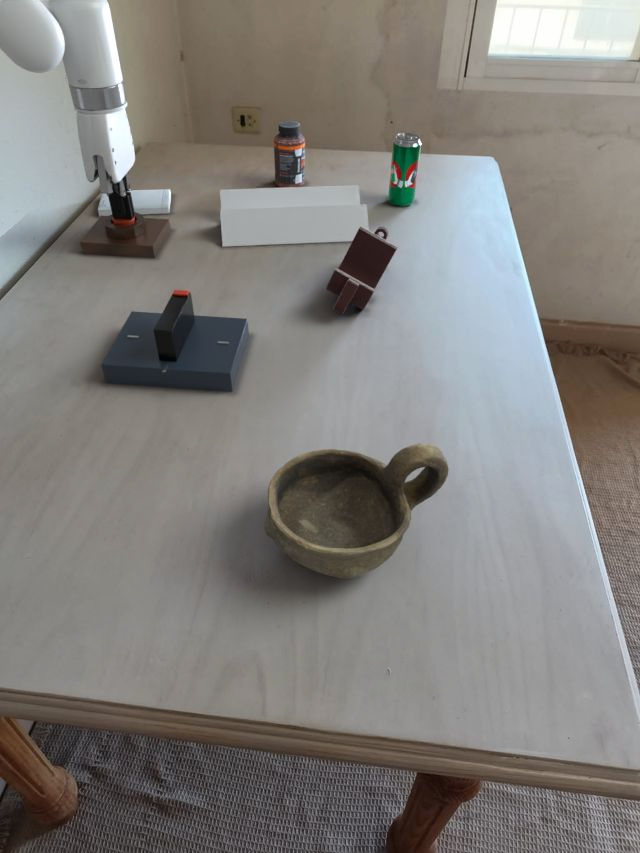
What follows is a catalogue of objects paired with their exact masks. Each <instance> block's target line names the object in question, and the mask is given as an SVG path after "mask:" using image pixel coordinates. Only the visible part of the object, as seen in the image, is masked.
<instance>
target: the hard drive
mask: <svg viewBox="0 0 640 853" xmlns="http://www.w3.org/2000/svg"><path fill="white" fill-rule="evenodd" d="M127 192H131V196H132V201H133V207H134V212H136V213H139V214H142V215H162V214H163V215H165V214H170V212H171V211H170V210H171V200H172V194H171V193H172V192H171V189H170V188H169V189H167V188H166V189H164V188H163V189H135V190H130V191H127ZM97 213H98V217H99V218H100V216H101V215H102V216H109V215H112V211H111V206H110V202H109V197H108V196H107V194H102V193H101V196H100V199H99V203H98V207H97Z"/></svg>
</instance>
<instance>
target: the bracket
mask: <svg viewBox="0 0 640 853" xmlns="http://www.w3.org/2000/svg"><path fill="white" fill-rule="evenodd" d="M379 233H382V234H383V236H381V235H380V234H379ZM388 236H389V230H388V229H387V227H384V226H379V227H377V228H376V230H375V231H374V232H372V231H371V230H370V229H369V230H367V229H366V228H364V227H362V226H360V228H359V229H358V231H357V233H356V235H355V237H354V239H353V241H351V243H350V245H349V247H348V248H347V251H346V253H345V254H344V257H343V259H342V261H341V263H340V264H339V266H338V268H337V267H335V268H334V271H333V272H332V274H331V276H330V278H329V281H328V283H327V285H326V287H325V290H326V291H328V292H330V293H332V294H333V295H335V296H337V297H338V298H337V300H336V302H335V304H334V305H333V307H332V310H333V311H334V312H336V313H338V314H340V315H341V316H343V315H344V313H345V311H346V310H347V308H348V306H349V305H350V304H351V305H353V306H355V307H357V308H358V309H360V310H362V311H364V310H365V309H366V307H367V305H368V303H369V301H370V300H371V298H372V296H373V295H374V292H375V290H376V287H377V286H378V284H379V282H380V280H381V278H382V277H383V275H384V273H385V271H386V270H387V268H388V266H389V264H390V262H391V260H392V259H393V257H394V255H395V253H396V251H397V250H398V248H399V246H397V245H396V244H394V243H393V242H390V241H388V240H387V238H388Z"/></svg>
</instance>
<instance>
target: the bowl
mask: <svg viewBox="0 0 640 853" xmlns="http://www.w3.org/2000/svg"><path fill="white" fill-rule="evenodd" d="M421 468H423V469H422V470H421V471H420V472H419V473H418V474H417V475H416V476H415V477H414V478H413V479H411V480H407V478H408V477H409V476H410V475H411V474H412V473H414V472H415V471H417V470H418V469H421ZM448 475H449V464H448V461H447V459H446V457H445V456H444V454H443V452H442V450H441V449H440V448H439V447H437V446H436V445H435V444H432V443H424V442H423V443H422V442H421V443H420V442H419V443H415V444H411V445H409V446H407V447H404V448H402V449H400V450H399V451H397V452H396V453H395V454H394V455H393V456H391V458H390V460H389V462H388V463H387V464H386V463H384V462H382V461H380V460H379V459H375V458H374V457H371V456H368V455H365V454H362V453H361V452H358V451H352V450H347V449H337V448H324V449H318V450H312V451H307V452H305V453H302V454H298V455H297V456H294V457H293V458H291V459H290V460H288V461H287V462H286V463H285V464H284V465H283V466H281V467H280V468H279V469H277V470H276V472H275V473H274V474H273V476H272V477H271V480H270V482H269V485H268V489H267V504H268V508H267V514H266V518H265V522H264V533H265V534H266V536H267V537H268V538H269V539H270V540H272V542H273V543H274V544H275V545H276V547H277V548H278V549H280V550H281V552H282V553H284V554H285V555H286V556H287V557H288V558H290V559H291V560H292V561H293V562H296V563H298V564H299V565H301V566H303V567H305V568H307V569H309V570H311V571H314V572H316V573H319V574H322V575H326V576H330V577H334V578H338V579H342V580H343V579H344V580H353V579H357V578H360V577H362V576H364V575H365V574H367V573H368V572H371V571H373V570H375V569H376V568H379V567H380V566H382V565H383V564H384V563H386V562H387V561H388V560H389V559H390V558H391V557H392V556H393V555H394V553H395V552H396V551H397V549H398V547H399V546H400V545H401V542H402V540H403V538H404V534H405V533H406V532H407V531H408V529H409V527H410V524H411V521H412V511H413V510H414V508H415V507H417V506H418V505H420V504H422V503H424V502H425V501H426V500H428V499H429V498H431V497H433V496H434V495H435V494H436V493H437V492H438V491H439V490H441V488H442V487H443V486H444V484H445V482H446V480H447V478H448Z"/></svg>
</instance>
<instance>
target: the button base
mask: <svg viewBox="0 0 640 853" xmlns="http://www.w3.org/2000/svg"><path fill="white" fill-rule="evenodd" d="M134 216H135V221H136V222H134V223H132V224H130V225H125V226H117V225H114V224H113V221H112V217H113V215H109V216H102V215H101V216H100V217H99V218H98V219H97V220H96V221H95V222H94V224H93V225H92V226H91V228H90V229H89V230H88V231H87V233H86V234H85V235H84V236H83V237H82V239H81V240H80V241H79V244H80V247H81V252H82V254H83V255H89V256H107V257H125V258H142V259H156V257H157V255H158V254H159V252H160V251H161V249H162V247H163V245H164V243H165V242H166V240H167V239H168V237H169V235H170V233H171V232H172V229H171V221H170V219H169V218H155V217H153V218H152V217H144V216H143V215H142V214H139V213H136V212H135V215H134Z"/></svg>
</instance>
